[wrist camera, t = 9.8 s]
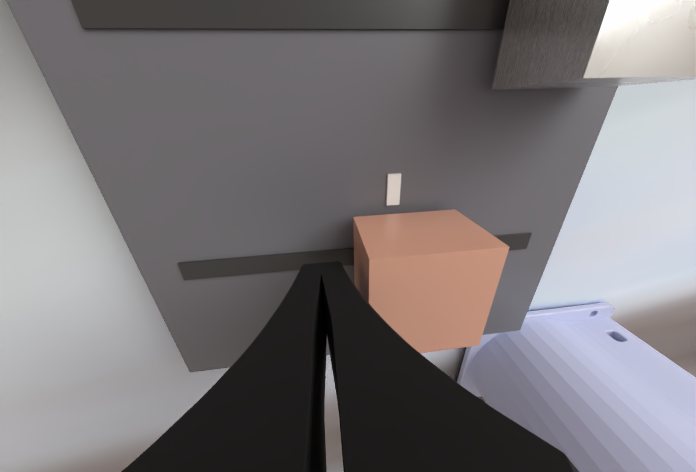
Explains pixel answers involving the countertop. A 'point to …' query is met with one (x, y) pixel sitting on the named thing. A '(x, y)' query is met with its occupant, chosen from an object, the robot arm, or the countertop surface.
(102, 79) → the fader panel
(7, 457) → the countertop surface
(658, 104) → the countertop surface
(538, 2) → the block
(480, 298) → the block
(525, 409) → the robot arm
